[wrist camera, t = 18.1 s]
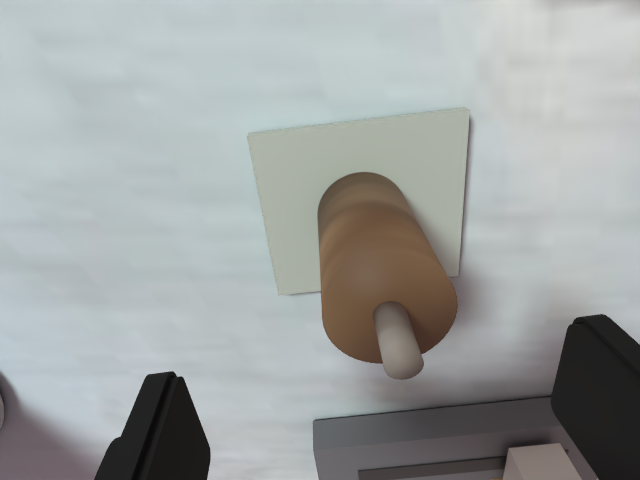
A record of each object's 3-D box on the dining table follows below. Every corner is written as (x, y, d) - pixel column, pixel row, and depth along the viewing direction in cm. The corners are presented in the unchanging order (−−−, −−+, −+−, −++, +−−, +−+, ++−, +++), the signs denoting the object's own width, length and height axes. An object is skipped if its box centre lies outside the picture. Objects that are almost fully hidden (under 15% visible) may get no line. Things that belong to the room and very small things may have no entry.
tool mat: (279, 288, 20) (278, 295, 20) (249, 133, 17) (246, 136, 16) (454, 269, 20) (458, 275, 20) (464, 107, 16) (469, 110, 16)
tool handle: (345, 266, 19) (371, 436, 11) (300, 202, 18) (293, 348, 10) (420, 226, 18) (505, 380, 10) (380, 154, 17) (445, 274, 9)
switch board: (322, 476, 28) (323, 507, 27) (312, 420, 25) (313, 452, 24) (577, 451, 28) (596, 481, 26) (596, 392, 25) (619, 421, 23)
